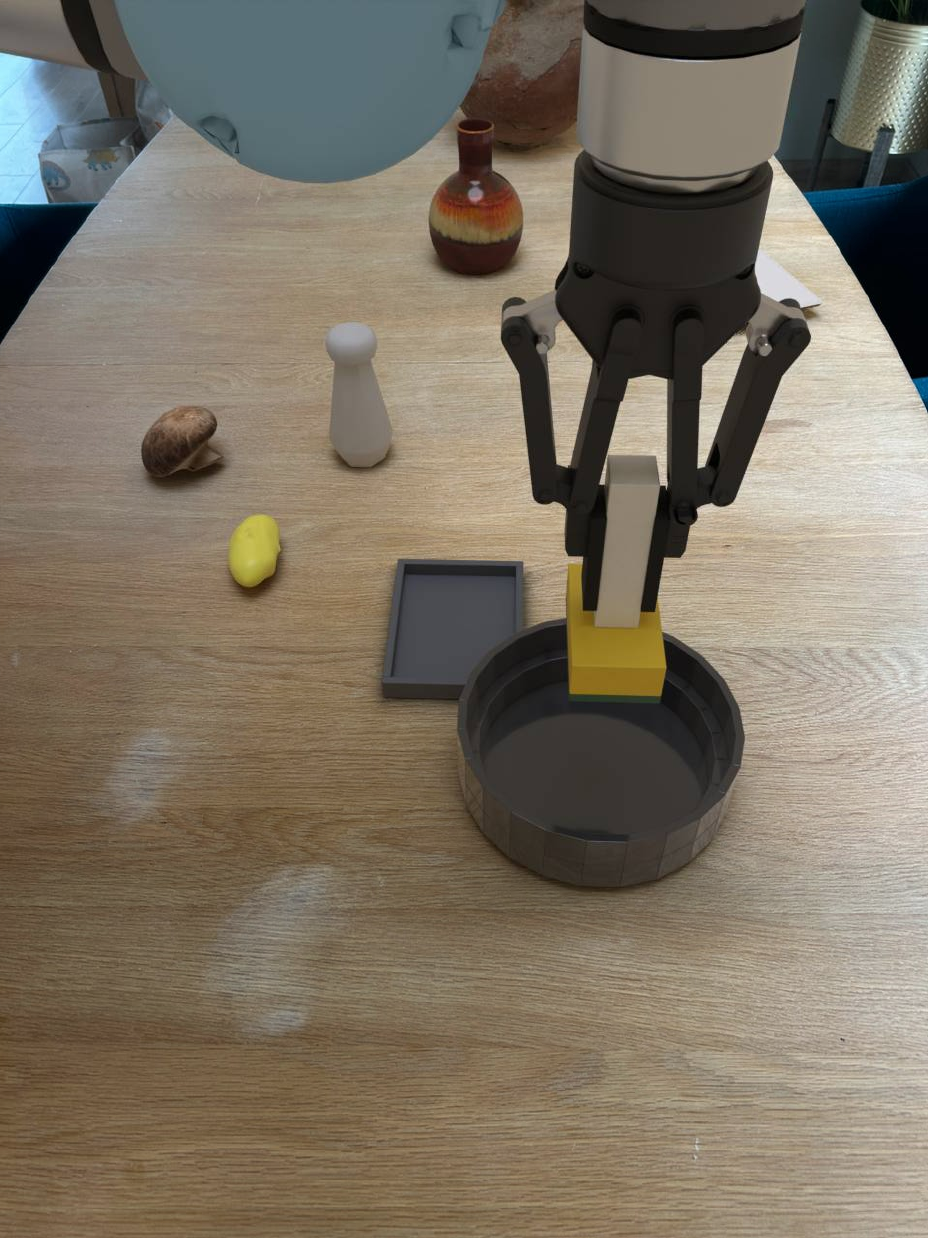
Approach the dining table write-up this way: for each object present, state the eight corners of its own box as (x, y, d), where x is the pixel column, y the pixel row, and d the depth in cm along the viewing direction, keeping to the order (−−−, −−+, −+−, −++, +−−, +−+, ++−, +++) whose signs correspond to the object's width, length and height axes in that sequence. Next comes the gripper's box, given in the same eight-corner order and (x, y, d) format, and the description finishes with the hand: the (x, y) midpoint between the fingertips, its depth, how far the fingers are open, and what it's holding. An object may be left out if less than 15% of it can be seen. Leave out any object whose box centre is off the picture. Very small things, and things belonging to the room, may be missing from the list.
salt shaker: (325, 444, 95) (307, 320, 85) (382, 430, 96) (371, 306, 87) (343, 479, 91) (327, 353, 82) (402, 464, 92) (393, 339, 83)
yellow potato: (292, 535, 86) (285, 500, 83) (272, 601, 80) (264, 566, 78) (244, 533, 86) (236, 498, 83) (221, 599, 81) (211, 564, 78)
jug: (587, 110, 153) (604, -132, 131) (609, 167, 138) (632, -95, 117) (446, 115, 153) (440, -127, 131) (453, 173, 138) (446, -89, 116)
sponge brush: (659, 703, 55) (694, 524, 46) (568, 701, 55) (584, 522, 46) (648, 600, 61) (677, 421, 51) (565, 599, 61) (579, 420, 51)
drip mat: (522, 701, 73) (522, 686, 72) (383, 697, 73) (381, 682, 72) (522, 575, 82) (523, 560, 81) (399, 573, 82) (397, 558, 81)
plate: (666, 349, 106) (669, 331, 104) (594, 270, 118) (595, 253, 116) (820, 317, 110) (825, 300, 108) (734, 244, 122) (738, 227, 120)
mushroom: (251, 440, 90) (200, 389, 87) (191, 505, 88) (137, 455, 85) (227, 437, 97) (178, 389, 94) (170, 497, 95) (119, 450, 92)
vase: (524, 239, 124) (528, 106, 112) (519, 283, 116) (523, 145, 105) (435, 236, 124) (431, 104, 113) (424, 280, 117) (418, 143, 106)
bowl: (404, 767, 69) (399, 712, 65) (584, 634, 77) (590, 579, 73) (601, 951, 60) (610, 902, 55) (782, 777, 68) (802, 723, 64)
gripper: (860, 114, 40) (750, 550, 57) (474, 115, 41) (478, 545, 58) (908, 194, 35) (771, 647, 52) (465, 193, 36) (473, 641, 52)
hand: (617, 593), depth 55 cm, fingers closed on sponge brush, 2 cm apart
